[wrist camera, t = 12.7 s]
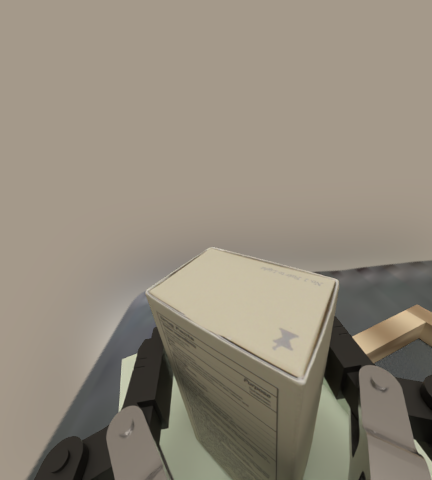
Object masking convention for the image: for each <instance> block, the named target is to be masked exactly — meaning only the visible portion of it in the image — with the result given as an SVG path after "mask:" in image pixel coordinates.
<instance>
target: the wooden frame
mask: <svg viewBox="0 0 432 480" xmlns="http://www.w3.org/2000/svg"><path fill="white" fill-rule="evenodd" d="M418 338H419V339H421V340H422V341H424V342H425V343H427V344H428V345H430V346H431V347H432V312H430V311H428V310H426V309H424V308H422V307H421V306H419V305H415V306H413V307H411V308H409V309H407V310H405V311H403V312H401V313H399V314H397V315H395V316H393V317H391V318H389V319H387V320H385V321H383V322H381V323H379V324H377V325H375V326H373V327H371V328H369V329H367V330H365V331H363V332H361V333H359V334H357V335H355V336H353V339H354V340H355V341H356V342H357V344H358V345H359V346H360V347H361V349H362V350H363V351H364V352H365V354H366V355H367V356H368V357H369V359H370V360H371V361H372V362H373V363H375V362H377V361H379V360H381V359H382V358H384V357H386V356H388V355H390V354H391V353H393V352H395V351H397V350H398V349H400V348H402V347H404V346H406V345H407V344H409V343H411V342H413V341H415V340H416V339H418Z"/></svg>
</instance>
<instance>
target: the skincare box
mask: <svg viewBox="0 0 432 480" xmlns="http://www.w3.org/2000/svg"><path fill="white" fill-rule="evenodd" d="M338 291H339V281H338V280H337V279H334V278H331V277H327V276H323V275H320V274H316V273H312V272H309V271H305V270H301V269H297V268H293V267H290V266H285V265H281V264H278V263H273V262H270V261H267V260H262V259H258V258H255V257H251V256H247V255H243V254H239V253H235V252H231V251H227V250H223V249H219V248H214V247H210V248H208V249H207V250H205V251H204V252H202V253H201V254H199V255H198V256H196V257H195V258H193V259H192V260H190V261H189V262H187V263H186V264H184V265H182V266H181V267H180V268H178V269H177V270H175V271H173V272H172V273H171V274H169V275H168V276H166V277H165V278H163V279H162V280H160V281H159V282H157V283H156V284H154V285H153V286H151V287H150V288H148V289H147V290H146V297H147V300H148V302H149V305H150V308H151V311H152V314H153V317H154V320H155V323H156V325H157V328H158V331H159V334H160V337H161V339H162V342H163V345H164V348H165V351H166V354H167V356H168V359H169V362H170V365H171V368H172V371H173V374H174V377H175V379H176V382H177V385H178V388H179V391H180V394H181V397H182V399H183V402H184V405H185V408H186V411H187V414H188V416H189V419H190V422H191V425H192V428H193V431H194V434H195V437H196V439H197V440H198V442H199V443H200V444H201V445H202V446H203V447H204V448H205V450H206V451H207V452H208V453H209V454H210V455H211V456H212V457H213V459H214V460H215V461H216V462H217V463H218V464H219V465H220V466H221V467H222V468H223V469H224V471H225V472H226V473H227V474H228V475H229V476H230V477H231V478H232V479H233V480H303V477H304V473H305V469H306V466H307V462H308V457H309V453H310V449H311V445H312V439H313V434H314V429H315V423H316V417H317V412H318V407H319V402H320V396H321V390H322V385H323V379H324V373H325V368H326V362H327V356H328V351H329V345H330V339H331V333H332V327H333V321H334V315H335V309H336V303H337V297H338Z"/></svg>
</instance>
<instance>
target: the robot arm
mask: <svg viewBox="0 0 432 480" xmlns="http://www.w3.org/2000/svg"><path fill="white" fill-rule="evenodd" d="M173 376H174V374H173V371H172V368H171V365H170V362H169V359H168V356H167V354H166V351H165V348H164V345H163V342H162V339H161V337H160V334H159V331H158V328H157V327H155V328H154V329H153V333H152V338H151V339H145V340H144V342H143V343H142V345H141V346H140V348H139V350H138V353H137V357H136V361H135V364H134V370H133V371H132V375H131V378H130V382H129V386H128V389H127V393H126V396H125V400H124V403H123V406H122V408H121V411H120V412H119V413H117V415H116V416H115V417H114V418H113V420H112V421H111V423H110V424H109V425H108V426H107V427H105V428H104V429H102V430H100V431H99V432H97V433H95V434H93V435H91V436H89V437H88V438H86V439H84V440H81V439H80V438H78V437H76V436H72V437H68V438H66V439H64V440H62V441H61V442H60V443H58V444H57V445H56V446H55V447H54V448H53V449H52V450H51V451H50V452H49V454H48V455H47V456H46V458H45V459H44V461H43V463H42V465H41V467H40V469H39V471H38V473H37V475H36V477H35V479H34V480H174V478H173V475H172V473H171V470H170V468H169V465H168V463H167V460H166V458H165V456H164V453H163V451H162V448H161V446H160V435H161V430H162V429H167V428H168V427H169V417H170V407H171V397H172V386H173ZM324 378H325V380H326V381H327V383H328V385H329V387H330V389H331V391H332V392H333V394H334V396H335V398H336V400H338V399H344V398H345V400H346V401H347V403H348V405H349V410H348V412H349V450H350V463H349V473H348V480H432V479H431V475H430V471H429V468H428V465H427V463H426V460H425V458H424V457H423V456H422V455H421V454H419V453H418V451H417V449H416V447H415V443H414V440H416V441H417V443H418V444H419V445H420V447H421V448H422V449H423V451H424V452H425V453H426V455H427V456H428V457H429V459H430V460H431V461H432V375H430V376H428V377H426V378H425V380H424V382H419V381H413V380H407V379H401V378H397V377H394V376H393V375H392V374H390V373H389V372H388V371H386V370H384V369H382V368H380V367H378V366H376V365H375V364H374V363H373V362H372V361H371V360H370V359H369V357H368V356H367V355H366V354H365V352H364V351H363V350H362V349H361V347H360V346H359V345H358V344H357V342H356V341H355V340H354V339H353V337H352V336H351V335H350V334H349V333H348V331H347V330H346V329H345V328H344V327H343V325H342V324H341V323H340V321H339V320H338V319H337V318H336V317H335V316H334V321H333V327H332V333H331V339H330V345H329V351H328V356H327V362H326V368H325V373H324Z"/></svg>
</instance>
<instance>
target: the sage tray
mask: <svg viewBox="0 0 432 480" xmlns="http://www.w3.org/2000/svg"><path fill="white" fill-rule="evenodd" d="M136 357H137V354H135V355H132V356H130V357H127V358H125V359H122V368H121V384H120V400H119V412H120V411H121V408H122V406H123V403H124V400H125V396H126V393H127V389H128V386H129V382H130V378H131V375H132V371H133V370H134V364H135V361H136ZM348 410H349V405H348V403H347V401H346V400H345V398H344V399H338V400H336V398H335V396H334V394H333V392H332V391H331V389H330V387H329V385H328V383H327V381H326V380H325V378H324V379H323V385H322V390H321V396H320V402H319V407H318V412H317V417H316V423H315V429H314V434H313V439H312V445H311V449H310V453H309V457H308V462H307V466H306V469H305V473H304V477H303V480H348V473H349V463H350V450H349V412H348ZM414 443H415V447H416V449H417V451H418V453H419V454H421V455H422V456H423V457H424V458H425V460H426V463H427V465H428V468H429V471H430V475H431V479H432V461H431V460H430V459H429V457H428V456H427V455H426V453H425V452H424V451H423V449H422V448H421V447H420V445H419V444H418V443H417V441H416V440H414ZM160 446H161V448H162V451H163V453H164V456H165V458H166V460H167V463H168V465H169V468H170V470H171V473H172V475H173V478H174V480H233V479H232V478H231V477H230V476H229V475H228V474H227V473H226V472H225V471H224V469H223V468H222V467H221V466H220V465H219V464H218V463H217V462H216V461H215V460H214V459H213V457H212V456H211V455H210V454H209V453H208V452H207V451H206V450H205V448H204V447H203V446H202V445H201V444H200V443H199V442H198V440H197V439H196V437H195V434H194V431H193V428H192V425H191V422H190V419H189V416H188V414H187V411H186V408H185V405H184V402H183V399H182V397H181V394H180V391H179V388H178V385H177V382H176V379H175V377H174V376H173V386H172V397H171V407H170V417H169V427H168V428H167V429H162V430H161V435H160Z"/></svg>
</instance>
